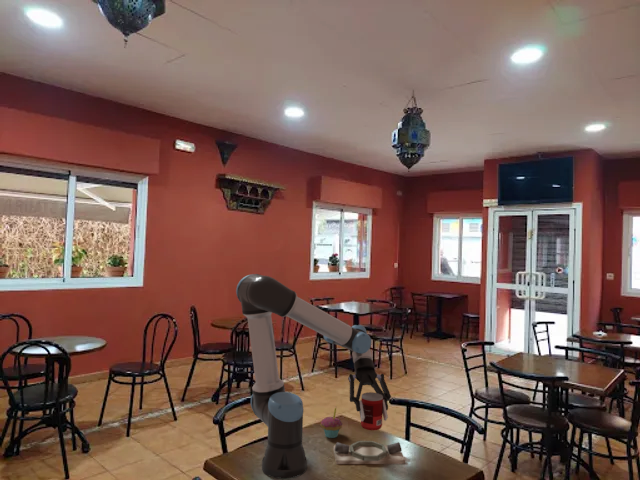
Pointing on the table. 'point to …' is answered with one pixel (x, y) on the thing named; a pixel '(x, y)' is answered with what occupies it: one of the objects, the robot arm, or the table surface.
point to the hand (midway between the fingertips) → (374, 419)
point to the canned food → (372, 411)
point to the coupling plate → (368, 453)
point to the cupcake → (331, 426)
